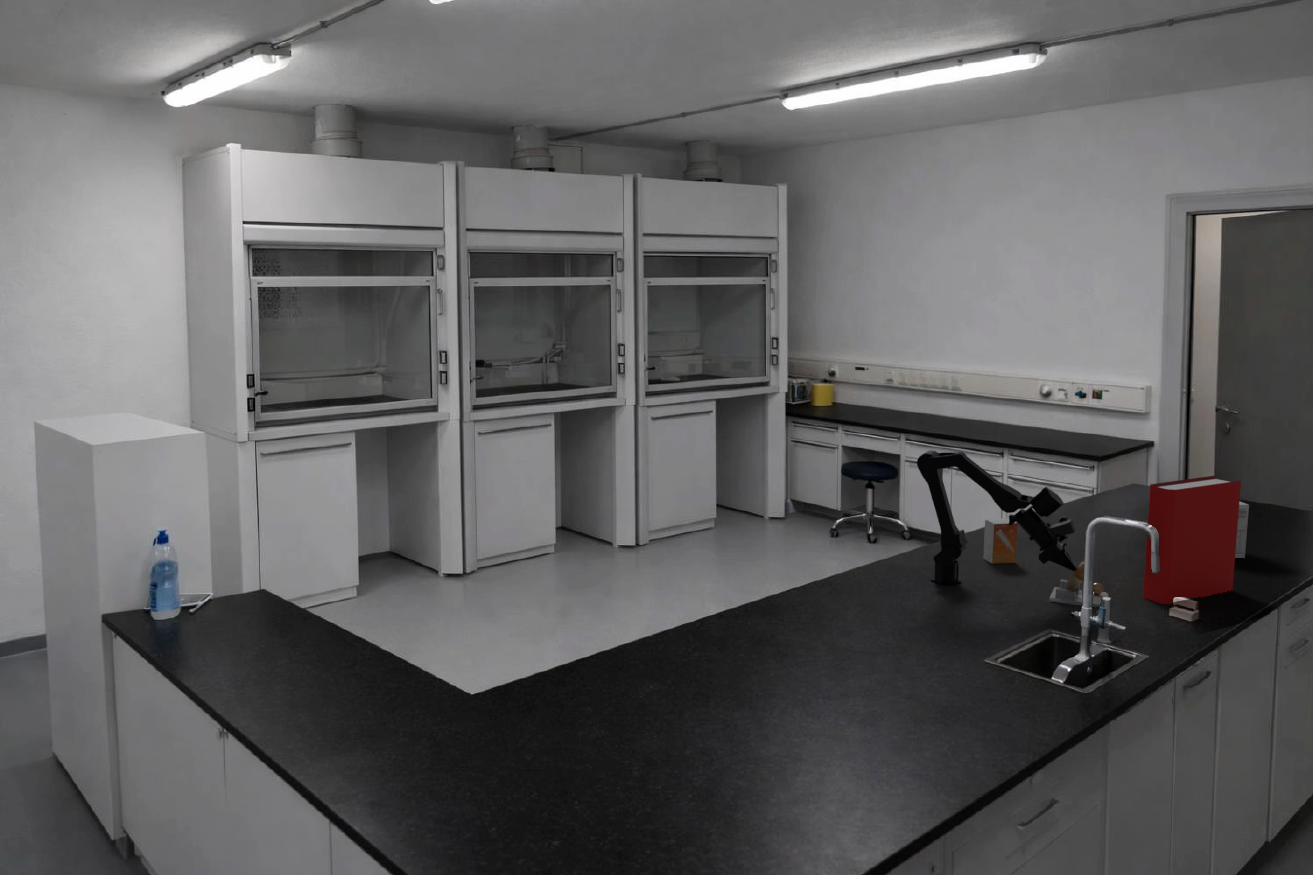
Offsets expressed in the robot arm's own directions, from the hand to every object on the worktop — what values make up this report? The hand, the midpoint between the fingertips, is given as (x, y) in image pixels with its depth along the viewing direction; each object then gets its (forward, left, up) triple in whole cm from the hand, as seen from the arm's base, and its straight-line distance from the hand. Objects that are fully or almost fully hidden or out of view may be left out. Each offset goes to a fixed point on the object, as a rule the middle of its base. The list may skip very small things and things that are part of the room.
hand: (1075, 569), depth 279 cm
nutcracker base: (+1, -1, -8) cm, 8 cm away
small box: (+11, +37, -8) cm, 40 cm away
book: (+31, -13, -8) cm, 34 cm away
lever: (-1, +1, -6) cm, 6 cm away
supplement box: (+76, +9, -8) cm, 77 cm away
